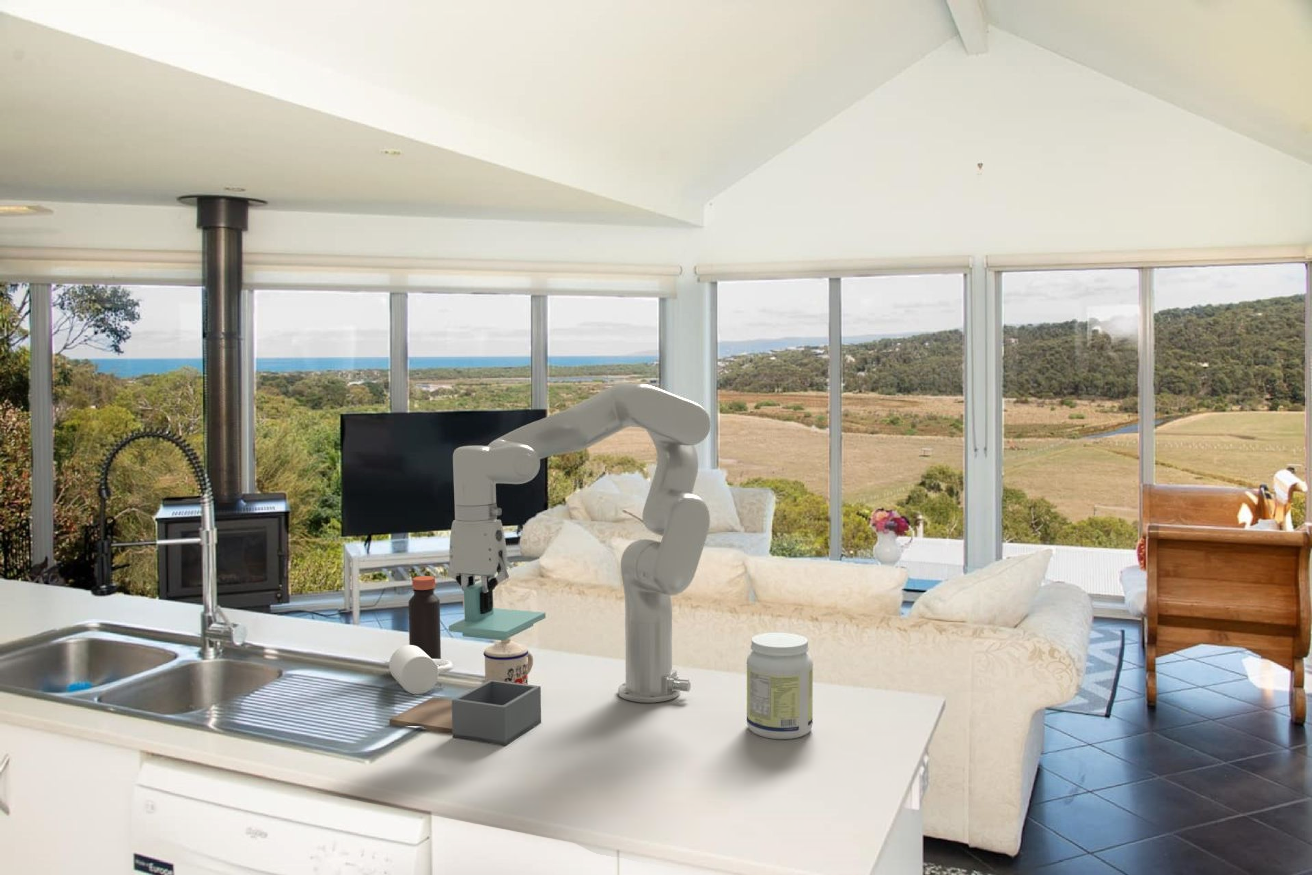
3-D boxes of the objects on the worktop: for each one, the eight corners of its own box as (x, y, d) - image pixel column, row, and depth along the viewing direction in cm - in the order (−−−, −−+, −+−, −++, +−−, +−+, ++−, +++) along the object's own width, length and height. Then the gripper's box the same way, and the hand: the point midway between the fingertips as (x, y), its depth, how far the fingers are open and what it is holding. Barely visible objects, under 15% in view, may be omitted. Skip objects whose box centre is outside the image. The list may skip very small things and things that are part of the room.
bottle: (447, 664, 237) (445, 576, 235) (428, 672, 230) (426, 582, 229) (422, 660, 239) (420, 574, 238) (403, 668, 233) (401, 579, 232)
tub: (541, 722, 198) (540, 686, 197) (505, 745, 186) (504, 707, 185) (490, 715, 202) (490, 679, 202) (452, 737, 190) (451, 699, 190)
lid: (545, 624, 197) (544, 581, 196) (506, 643, 184) (505, 597, 183) (490, 619, 202) (489, 576, 201) (449, 637, 189) (447, 592, 188)
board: (493, 710, 205) (493, 705, 205) (452, 734, 192) (452, 728, 192) (433, 701, 210) (433, 696, 210) (389, 724, 197) (389, 718, 197)
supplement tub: (774, 713, 202) (774, 627, 201) (826, 729, 194) (826, 639, 192) (732, 729, 194) (732, 639, 193) (784, 746, 185) (785, 652, 184)
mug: (400, 697, 214) (400, 658, 213) (389, 684, 222) (388, 647, 222) (458, 688, 219) (457, 651, 219) (444, 676, 228) (444, 639, 227)
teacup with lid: (506, 702, 210) (505, 645, 209) (474, 694, 215) (473, 638, 214) (547, 687, 219) (547, 632, 218) (516, 679, 225) (516, 626, 224)
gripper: (524, 512, 193) (527, 610, 195) (450, 508, 199) (453, 603, 201) (502, 518, 186) (506, 620, 188) (427, 514, 192) (430, 613, 194)
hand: (479, 610), depth 194 cm, fingers closed on lid
